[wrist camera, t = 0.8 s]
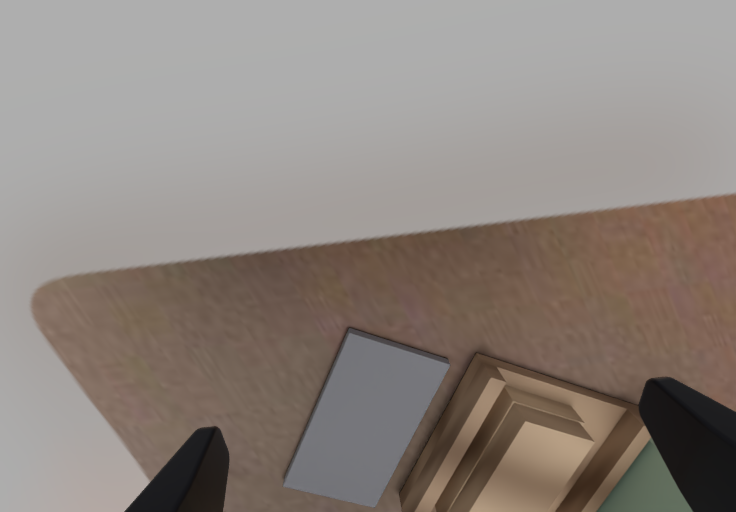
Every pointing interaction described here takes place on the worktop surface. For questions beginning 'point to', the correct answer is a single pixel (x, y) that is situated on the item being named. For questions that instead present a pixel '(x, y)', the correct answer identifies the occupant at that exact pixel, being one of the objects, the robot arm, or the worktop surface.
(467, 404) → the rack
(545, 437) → the offcut top
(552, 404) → the block
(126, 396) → the worktop surface
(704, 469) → the robot arm
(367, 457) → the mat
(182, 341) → the worktop surface
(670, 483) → the pale green square slab
